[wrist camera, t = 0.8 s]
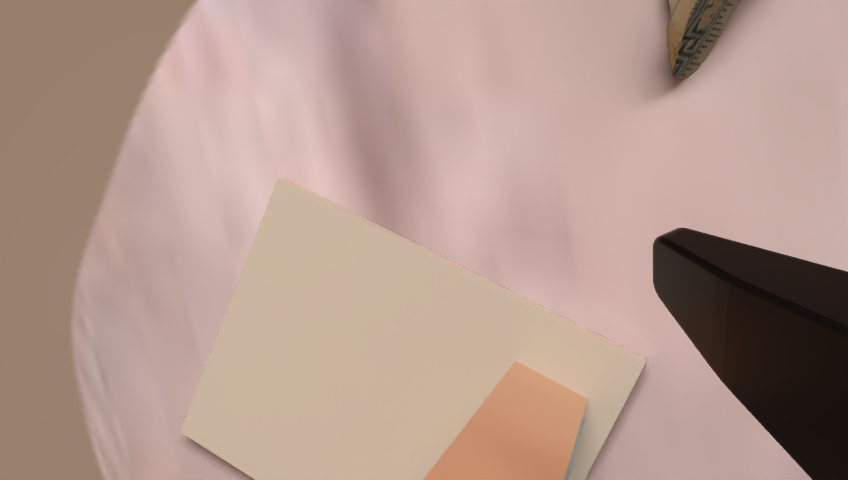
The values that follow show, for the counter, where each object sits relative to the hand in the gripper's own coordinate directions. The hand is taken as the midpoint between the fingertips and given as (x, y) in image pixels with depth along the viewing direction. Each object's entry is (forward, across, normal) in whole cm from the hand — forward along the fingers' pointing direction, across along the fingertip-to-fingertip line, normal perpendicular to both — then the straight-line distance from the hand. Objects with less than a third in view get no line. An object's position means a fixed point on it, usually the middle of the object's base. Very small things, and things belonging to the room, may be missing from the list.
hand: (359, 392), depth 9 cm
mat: (+8, -1, +10) cm, 13 cm away
